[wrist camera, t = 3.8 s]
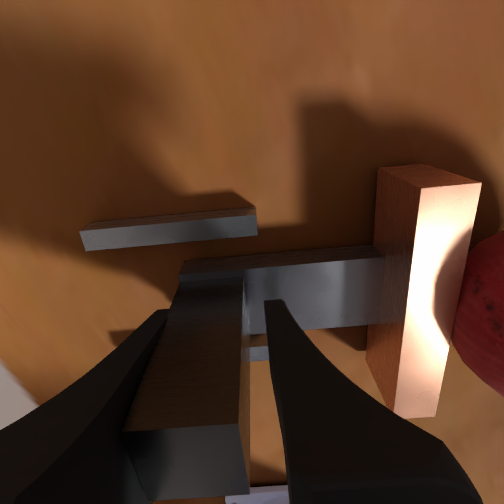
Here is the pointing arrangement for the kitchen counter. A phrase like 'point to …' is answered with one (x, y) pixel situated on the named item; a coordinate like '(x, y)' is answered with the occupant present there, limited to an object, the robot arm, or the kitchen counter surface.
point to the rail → (178, 239)
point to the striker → (308, 317)
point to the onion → (482, 312)
